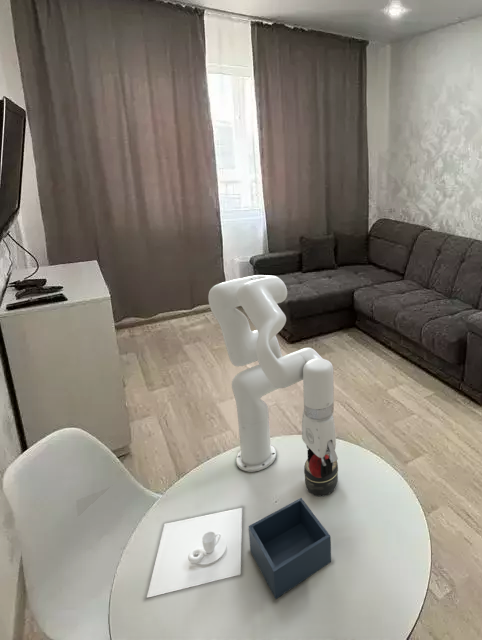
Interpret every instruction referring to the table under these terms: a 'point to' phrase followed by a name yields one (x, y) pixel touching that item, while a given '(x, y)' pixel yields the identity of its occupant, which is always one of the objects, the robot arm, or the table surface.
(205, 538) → the teacup and saucer
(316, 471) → the pomegranate
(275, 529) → the bin
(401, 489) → the table surface
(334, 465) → the jar
